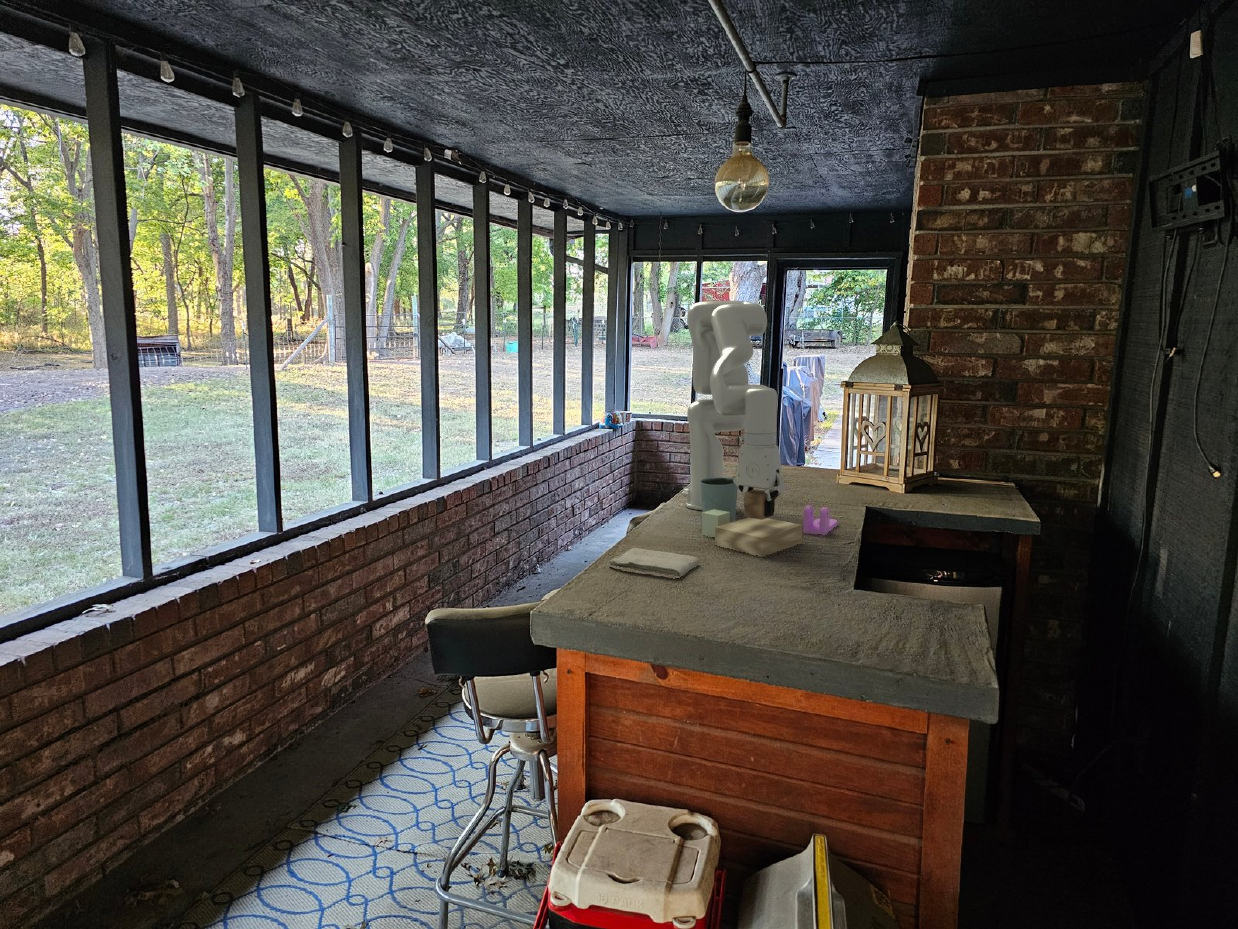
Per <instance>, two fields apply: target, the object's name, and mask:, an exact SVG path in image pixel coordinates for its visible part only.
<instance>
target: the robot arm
mask: <svg viewBox="0 0 1238 929" xmlns="http://www.w3.org/2000/svg"><path fill="white" fill-rule="evenodd" d="M686 321H687V329H688V332H689V335H690V339H691V342H692V351H693V352H692V386H693V390H694V391H695V392H696V393H697V394H699V395H706V396H708V395H710V396H712V399H711V398H710V399H707V398H706V399H698V400H695V401H693V402H692V403H690V404H689V406H688V408H687V412H686V413H687V414H686V415H687V423H688V429H689V438H690V439H689V440H690V442H689V444H690V445H689V446H690V447H689V448H690V488H684V489H683V491H682V492H681V496H683V497H687V500H685V503H684V504H685V507H686V508H688V509H691V510H699V511H703V510H702V499H701V489H700V481H701V480H703V479H706V478H714V477H724V448H723V444H722V442H721V440H720V439H719V438H718V437H717V435H716V433H720V432H723V433H724V432H738V431H741V430H743V429H744V430H743V431H744V432H743V433H741V435H740V438H741V440H742V439H743V444H741V446H740V449H739V452H738V453H739V454H738V460H737V469H736V476H735V477H734V478H733V479H734V480H733V482H734V483H735V484H736V486H737V487H738V489H739V490H738V491H740V492H741V495H742V497H743V500H744V501H743V502H744V503H743V504H744V506H743V507H744V508H743V509H745V492H748V491H752V490H755V489H759V490H765V494H766V499H767V500H766V501H765V506H764V516H765V517H769V516H772V517H774V516H773V515H775V510H776V509H775V508H776V507H775V504H776V502H775V501H776V500H777V498H778V497H779V496H780V495H781V494H782V493H784V492H785V491H786V490H787V489H788V487H787V484H786V483H785V482H784V480H783V477H782V464H781V463H782V462H781V454H780V450H779V445H777V418H778V416H777V411H778V410H777V409H778V392H777V391H776V390H775V388H772V387H768V386H766V385H764V384H749V373H748V370H747V367H746V364H747V363H749V361H750V360H751V359H752V357H753V356H754V347H753V344H752V341H751V338H750V337H758V336H762V335H763V334H764V333H765V332H766V329H767V326H768V317H767V313H766V311H765V310H764V308H763V306H761V304H759V303H756V302H752V301H749V300H748V301H747V300H704V301H699V302H695V303H693V304H691V305H690V306H689V308H688V311H687V320H686ZM769 518H770V517H769Z"/></svg>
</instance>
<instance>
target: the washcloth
mask: <svg viewBox="0 0 1238 929" xmlns="http://www.w3.org/2000/svg"><path fill="white" fill-rule="evenodd" d="M698 564H700V560H699V558H697V557H696V556H692V555H687V554H679V553H675V552H671V551H670V552H668V551H667V552H666V551H660V550H653V549H646V548H638V547H632V548H631V549H627V550H626V552H624V553H622V554H619V555H618V556H615V557H614V558H612V559H610V560H609V563H608V566H609V565H614V566H616V567H617V566H619V567H623V568H630V569H634V570H638V571H642V572H655V573H659V574H665V575H674V576H679V577H681V576H683V575H684V574H685V573H686V572H687V573H689V572H690V571H689V570H690V569H692V568H694V567H695V568H697V567H698V566H699V565H698ZM697 565H698V566H697ZM696 566H697V567H696ZM695 568H694V569H695ZM688 571H689V572H688ZM687 573H686V574H687ZM686 574H685V575H686ZM685 575H684V576H685ZM684 576H683V577H684ZM681 578H682V577H681Z"/></svg>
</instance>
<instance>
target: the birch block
mask: <svg viewBox="0 0 1238 929" xmlns="http://www.w3.org/2000/svg"><path fill="white" fill-rule="evenodd" d="M802 536H803V524H799V523H794V522H788V521H784V520H779V519H774V518H771V517H769V518H766V519H763V520H760V519H755V518H749V517H745V518H741V519H739V520H735V522H731V523H728V524H724V525H721V526H717V527H715V538H714V546H715V545H717V546H716V547H719V546H720V548H723V547H724V549H727V548H730V549H729V550H731V549H733V551H735V550H736V552H739V551H743V552H746V553H745V554H747V553H749V554H748V555H751V556H756V555H758V556H757V557H761V558H763V556H764V557H767V556H769V555H771V554H776V553H778V552H780V551H784V550H787V549H789V548H793V547H796V546H798V545H801V544H802V540H803V537H802ZM797 544H798V545H797ZM786 548H787V549H786ZM783 549H784V550H783ZM777 551H778V552H777ZM743 552H742V553H743ZM766 555H767V556H766Z"/></svg>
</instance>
